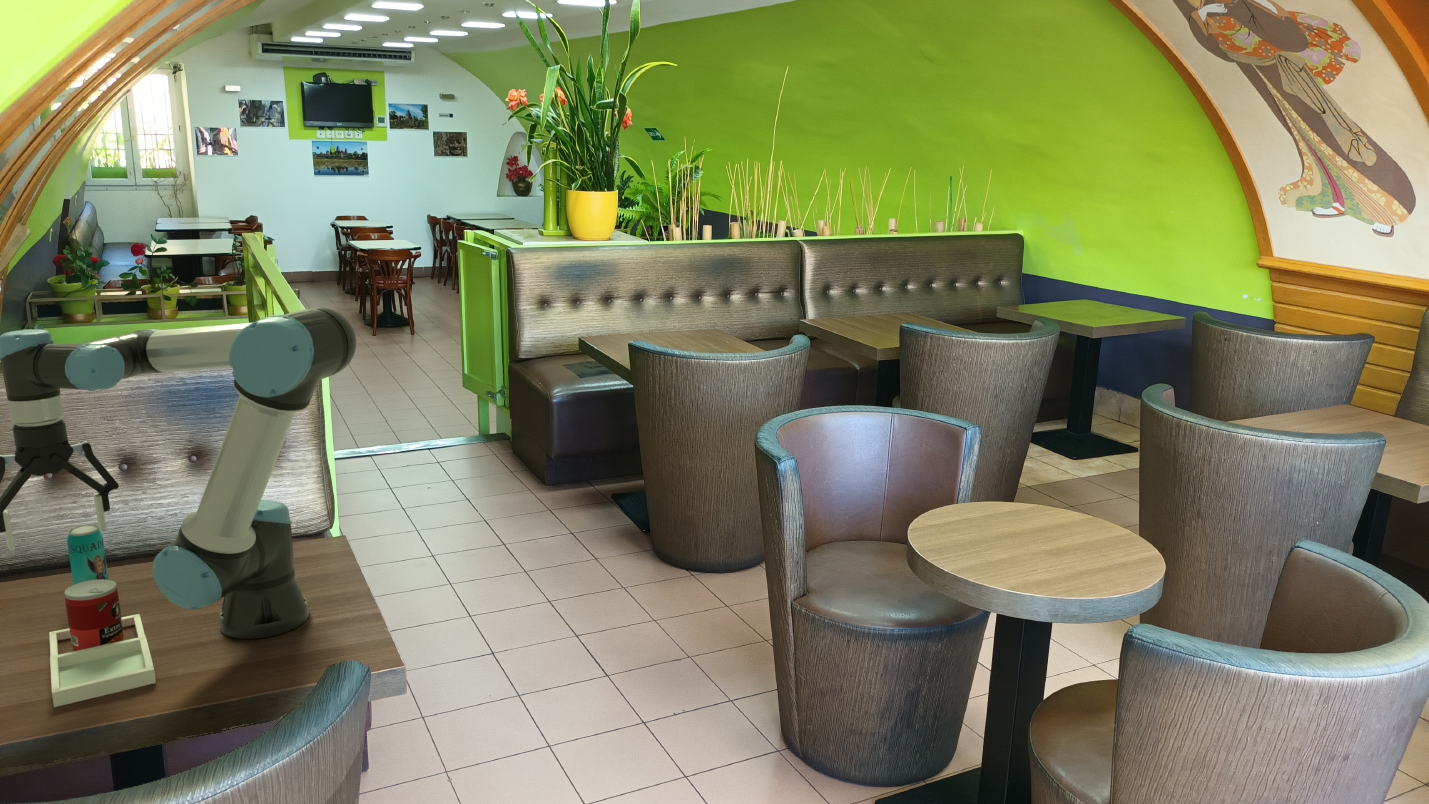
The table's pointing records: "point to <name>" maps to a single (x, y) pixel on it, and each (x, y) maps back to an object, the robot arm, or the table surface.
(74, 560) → the beverage can
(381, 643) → the table surface
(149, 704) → the table surface
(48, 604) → the table surface
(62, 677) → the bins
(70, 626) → the canned food
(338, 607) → the table surface
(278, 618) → the robot arm
